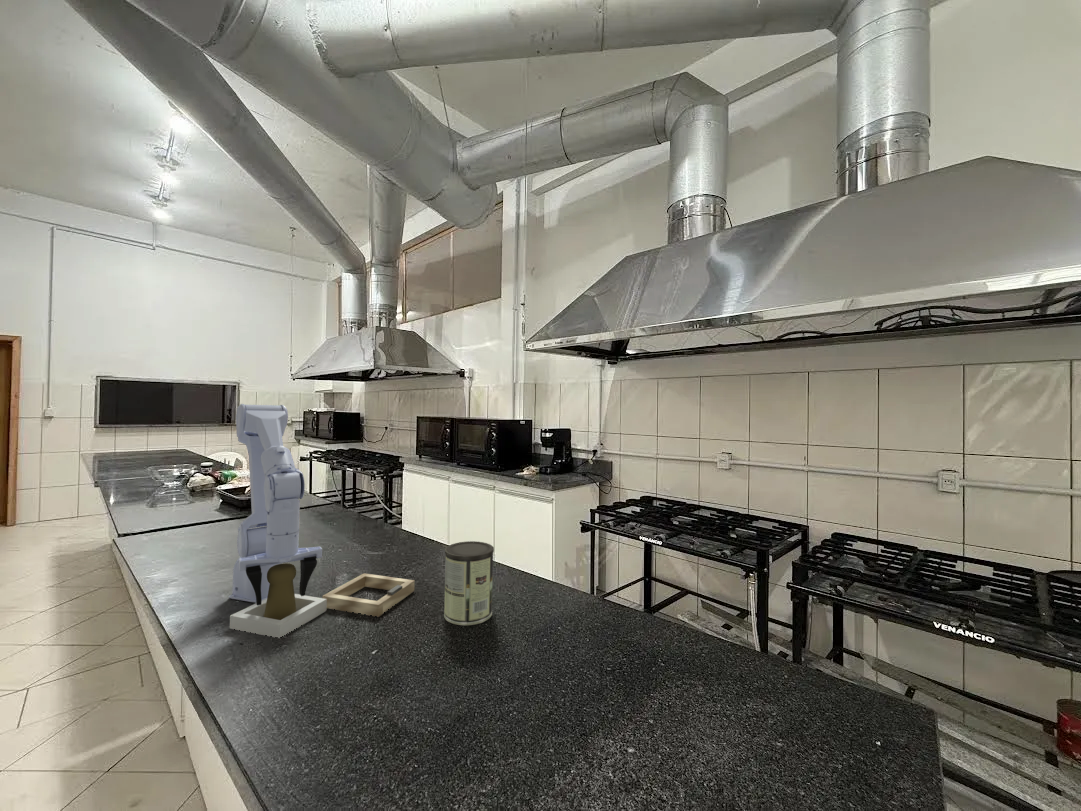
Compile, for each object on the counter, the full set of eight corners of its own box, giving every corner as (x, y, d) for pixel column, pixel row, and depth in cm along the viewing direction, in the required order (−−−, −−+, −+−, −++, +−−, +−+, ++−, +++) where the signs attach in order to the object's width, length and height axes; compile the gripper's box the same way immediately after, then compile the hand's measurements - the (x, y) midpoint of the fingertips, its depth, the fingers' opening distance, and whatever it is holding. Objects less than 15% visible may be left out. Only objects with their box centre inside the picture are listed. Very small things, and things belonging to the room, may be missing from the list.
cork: (281, 628, 87) (283, 571, 87) (255, 624, 88) (257, 568, 88) (303, 614, 93) (305, 561, 93) (279, 611, 94) (280, 558, 94)
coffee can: (461, 600, 102) (463, 538, 102) (500, 609, 97) (502, 545, 98) (432, 618, 92) (434, 550, 93) (474, 630, 88) (476, 559, 88)
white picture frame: (229, 628, 86) (230, 615, 86) (280, 602, 98) (280, 591, 98) (279, 638, 83) (280, 624, 83) (326, 610, 95) (326, 598, 95)
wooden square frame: (322, 607, 96) (322, 593, 96) (363, 583, 110) (364, 570, 110) (378, 616, 93) (378, 602, 93) (414, 590, 106) (414, 577, 106)
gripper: (241, 542, 83) (239, 615, 83) (326, 531, 92) (324, 597, 92) (239, 533, 89) (237, 601, 89) (319, 523, 97) (317, 585, 97)
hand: (281, 598), depth 90 cm, fingers open, 7 cm apart
